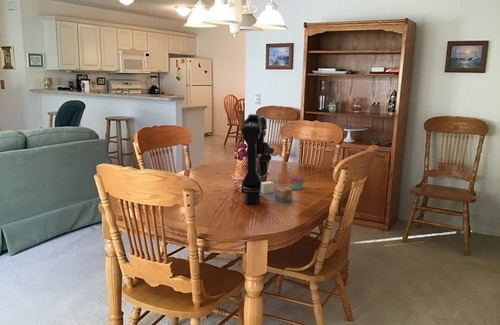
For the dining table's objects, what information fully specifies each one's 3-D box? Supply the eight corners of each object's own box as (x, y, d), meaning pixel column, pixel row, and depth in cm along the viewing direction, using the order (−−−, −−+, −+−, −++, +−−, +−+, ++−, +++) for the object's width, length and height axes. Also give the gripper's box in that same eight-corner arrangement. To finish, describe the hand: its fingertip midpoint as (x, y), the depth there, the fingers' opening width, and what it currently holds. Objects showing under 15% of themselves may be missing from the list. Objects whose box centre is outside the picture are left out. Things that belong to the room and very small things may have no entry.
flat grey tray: (279, 206, 198) (280, 195, 197) (254, 193, 220) (255, 182, 218) (299, 204, 203) (299, 192, 202) (273, 191, 225) (273, 180, 223)
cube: (281, 203, 201) (281, 191, 200) (275, 199, 206) (275, 188, 205) (292, 201, 204) (292, 189, 202) (285, 198, 209) (286, 186, 208)
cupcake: (292, 191, 226) (292, 169, 223) (286, 187, 234) (287, 165, 231) (306, 190, 228) (307, 168, 225) (301, 186, 236) (301, 165, 233)
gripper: (281, 142, 210) (280, 173, 213) (264, 137, 227) (263, 165, 230) (261, 144, 206) (260, 175, 209) (245, 138, 222) (244, 167, 225)
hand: (257, 170), depth 218 cm, fingers open, 9 cm apart
